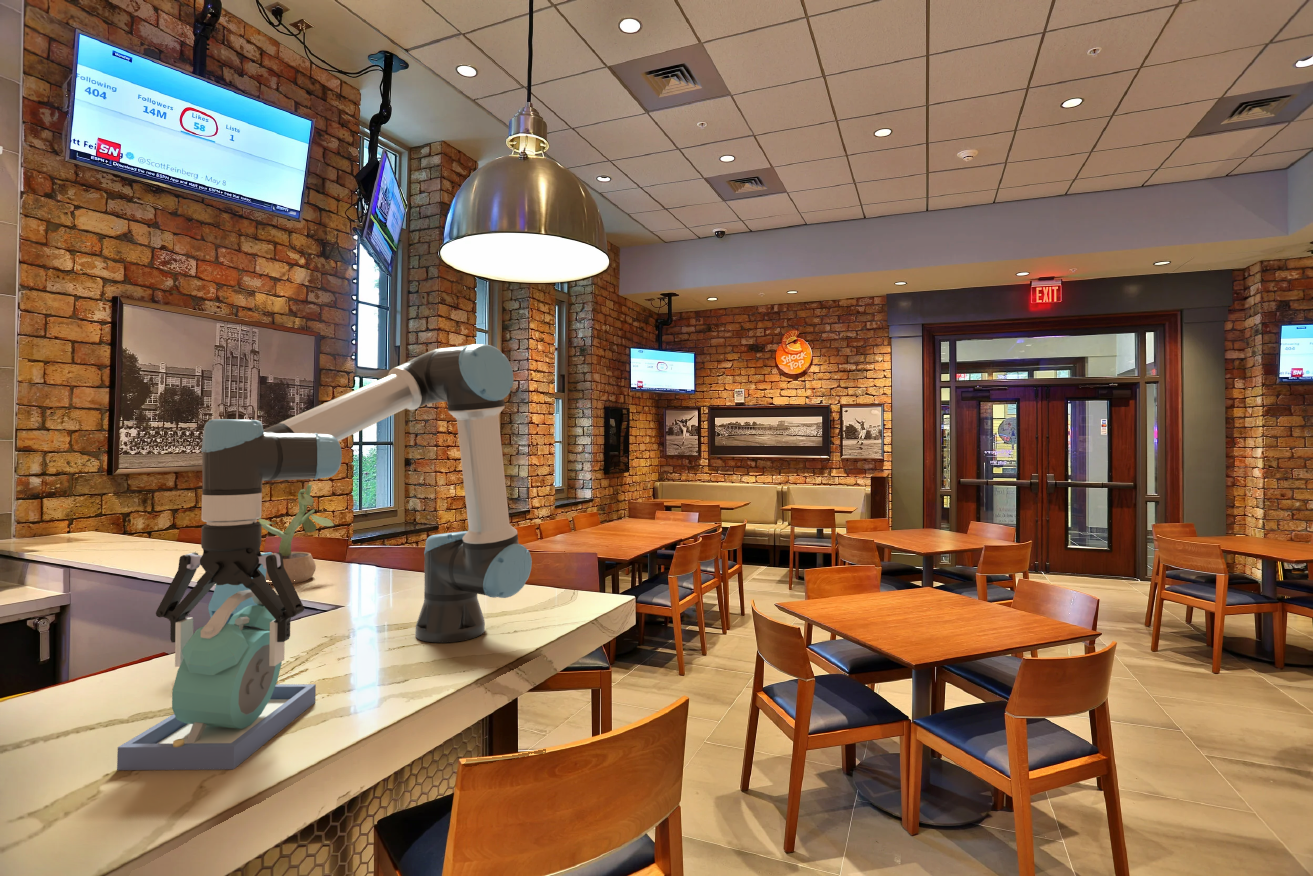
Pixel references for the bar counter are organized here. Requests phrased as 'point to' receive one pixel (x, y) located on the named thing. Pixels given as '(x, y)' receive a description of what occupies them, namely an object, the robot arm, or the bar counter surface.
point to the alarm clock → (226, 669)
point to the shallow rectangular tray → (214, 737)
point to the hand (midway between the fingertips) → (230, 663)
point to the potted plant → (295, 563)
